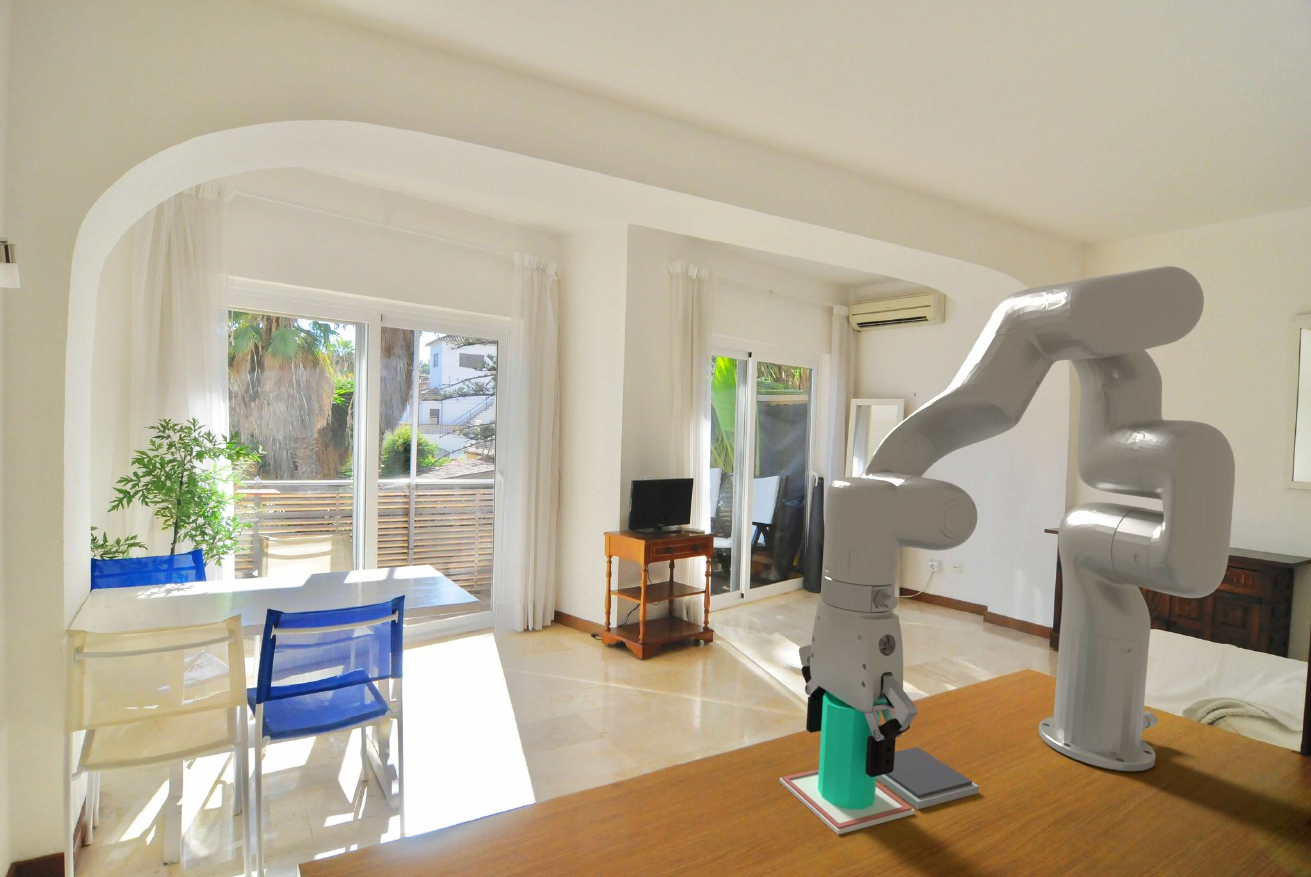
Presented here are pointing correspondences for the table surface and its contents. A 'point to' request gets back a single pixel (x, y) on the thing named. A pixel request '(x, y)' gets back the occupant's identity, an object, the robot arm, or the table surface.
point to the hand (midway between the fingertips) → (847, 750)
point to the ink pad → (925, 779)
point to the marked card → (842, 818)
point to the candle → (844, 755)
